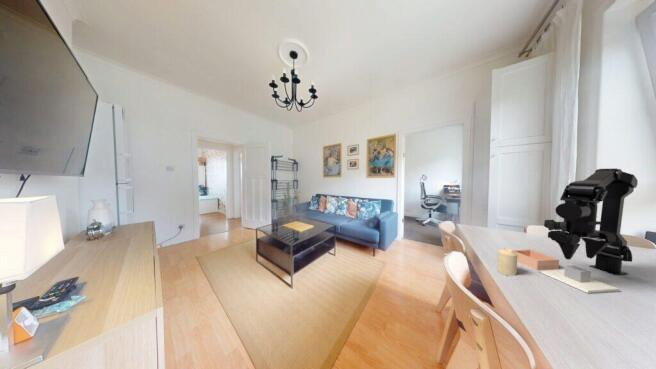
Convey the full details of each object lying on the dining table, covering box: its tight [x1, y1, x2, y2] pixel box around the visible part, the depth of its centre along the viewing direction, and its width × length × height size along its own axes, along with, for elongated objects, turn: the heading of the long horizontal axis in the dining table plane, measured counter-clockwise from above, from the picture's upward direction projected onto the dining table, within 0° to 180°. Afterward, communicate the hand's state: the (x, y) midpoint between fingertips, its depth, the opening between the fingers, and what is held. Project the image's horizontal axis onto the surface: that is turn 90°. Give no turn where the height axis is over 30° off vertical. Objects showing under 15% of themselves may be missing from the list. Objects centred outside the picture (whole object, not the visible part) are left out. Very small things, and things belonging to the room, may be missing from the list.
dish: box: [511, 249, 560, 271], centre depth 78 cm, size 10×10×4 cm
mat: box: [538, 271, 623, 295], centre depth 65 cm, size 13×13×1 cm
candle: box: [496, 247, 518, 277], centre depth 71 cm, size 6×6×10 cm
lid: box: [540, 265, 620, 294], centre depth 65 cm, size 12×12×5 cm
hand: (578, 258), depth 64 cm, fingers open, 9 cm apart
